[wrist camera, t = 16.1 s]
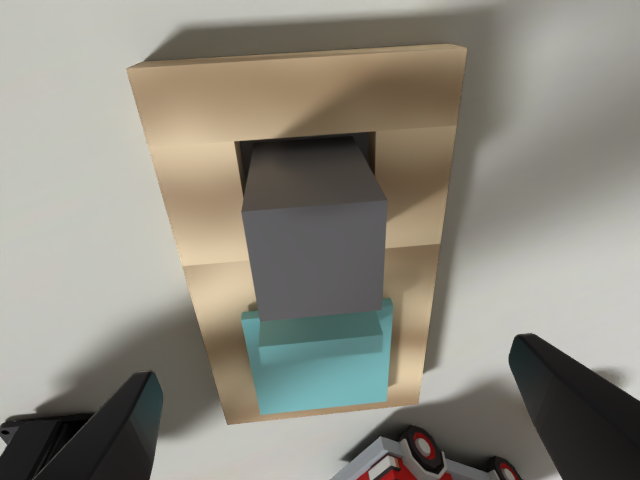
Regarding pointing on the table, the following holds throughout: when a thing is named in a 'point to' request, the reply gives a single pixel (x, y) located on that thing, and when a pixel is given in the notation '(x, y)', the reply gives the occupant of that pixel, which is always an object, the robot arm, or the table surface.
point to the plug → (314, 229)
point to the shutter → (319, 359)
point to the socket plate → (296, 124)
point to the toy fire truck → (417, 462)
